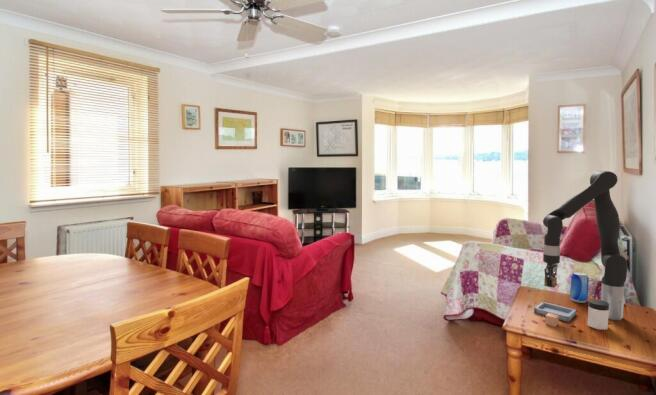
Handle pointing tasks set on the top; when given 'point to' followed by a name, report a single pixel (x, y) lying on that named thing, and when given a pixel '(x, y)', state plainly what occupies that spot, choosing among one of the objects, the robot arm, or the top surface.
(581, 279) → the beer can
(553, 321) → the block terracotta
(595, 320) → the jar
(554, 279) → the block walnut
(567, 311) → the tray
